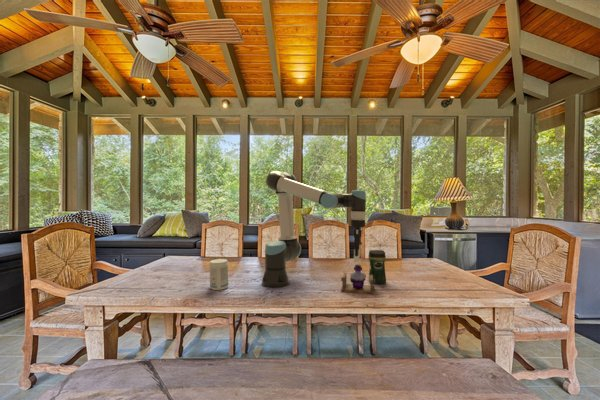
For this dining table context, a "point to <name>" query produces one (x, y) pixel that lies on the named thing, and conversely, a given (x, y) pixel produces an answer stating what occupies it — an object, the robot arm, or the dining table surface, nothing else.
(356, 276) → the potion bottle
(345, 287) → the holder
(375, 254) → the coffee jar
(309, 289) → the dining table surface
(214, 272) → the supplement tub
